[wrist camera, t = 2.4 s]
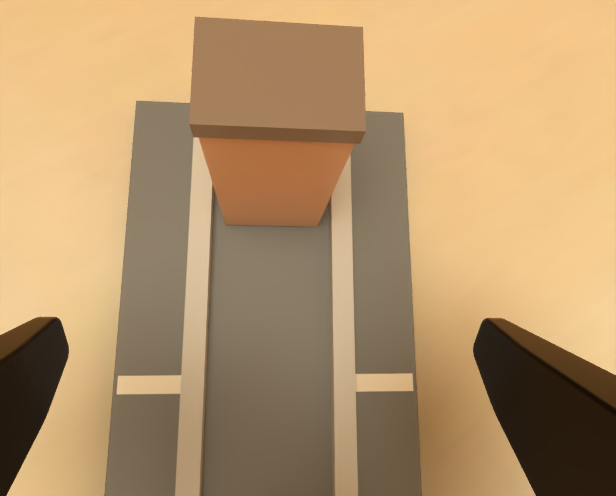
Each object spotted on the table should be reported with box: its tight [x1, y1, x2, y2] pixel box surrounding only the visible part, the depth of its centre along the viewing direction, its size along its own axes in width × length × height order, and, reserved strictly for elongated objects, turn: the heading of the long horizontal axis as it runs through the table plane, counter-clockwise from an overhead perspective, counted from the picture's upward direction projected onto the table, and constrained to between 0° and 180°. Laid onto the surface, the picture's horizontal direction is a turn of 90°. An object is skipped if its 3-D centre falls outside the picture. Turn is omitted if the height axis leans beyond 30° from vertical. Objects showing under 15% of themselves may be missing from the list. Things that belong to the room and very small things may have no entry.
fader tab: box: [189, 17, 366, 227], centre depth 18 cm, size 3×5×11 cm
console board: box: [105, 101, 422, 496], centre depth 22 cm, size 24×14×2 cm, turn 0°
